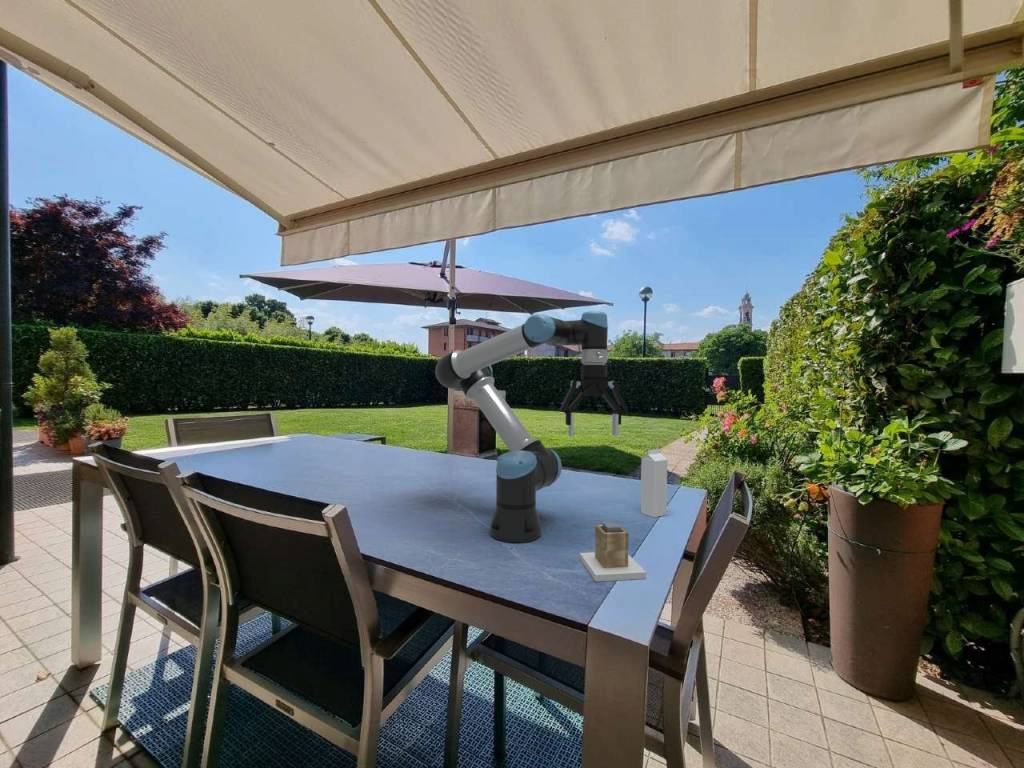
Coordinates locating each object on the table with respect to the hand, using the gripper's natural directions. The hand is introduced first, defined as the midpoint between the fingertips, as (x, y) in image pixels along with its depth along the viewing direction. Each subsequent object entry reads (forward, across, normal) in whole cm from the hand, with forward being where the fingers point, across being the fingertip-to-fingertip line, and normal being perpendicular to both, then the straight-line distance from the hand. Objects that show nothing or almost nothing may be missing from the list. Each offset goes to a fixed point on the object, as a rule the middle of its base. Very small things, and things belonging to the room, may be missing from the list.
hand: (593, 436), depth 124 cm
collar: (+27, -3, -23) cm, 36 cm away
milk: (+29, +26, +14) cm, 41 cm away
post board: (+29, -3, -23) cm, 37 cm away
